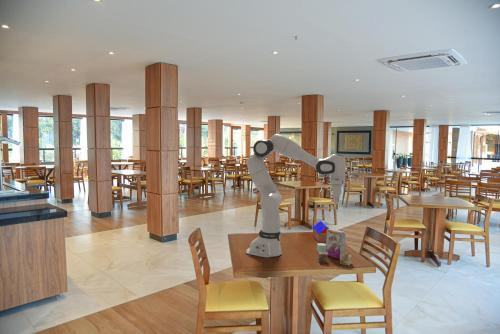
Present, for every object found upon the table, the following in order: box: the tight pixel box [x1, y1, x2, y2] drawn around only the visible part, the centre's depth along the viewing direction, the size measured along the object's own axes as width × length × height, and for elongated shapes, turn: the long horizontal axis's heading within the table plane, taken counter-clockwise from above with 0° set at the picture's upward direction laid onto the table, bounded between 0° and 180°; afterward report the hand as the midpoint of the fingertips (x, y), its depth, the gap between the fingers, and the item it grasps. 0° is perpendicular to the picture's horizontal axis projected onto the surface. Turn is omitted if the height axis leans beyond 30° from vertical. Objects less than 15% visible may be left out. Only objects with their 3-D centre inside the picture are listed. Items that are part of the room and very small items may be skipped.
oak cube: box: [339, 253, 353, 267], centre depth 198 cm, size 5×5×5 cm
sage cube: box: [316, 242, 326, 254], centre depth 220 cm, size 5×5×5 cm
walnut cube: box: [318, 252, 329, 264], centre depth 202 cm, size 5×5×5 cm
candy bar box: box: [325, 227, 346, 261], centre depth 210 cm, size 11×5×16 cm, turn 36°
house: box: [312, 220, 330, 243], centre depth 251 cm, size 12×20×12 cm, turn 2°
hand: (337, 202), depth 211 cm, fingers open, 7 cm apart
